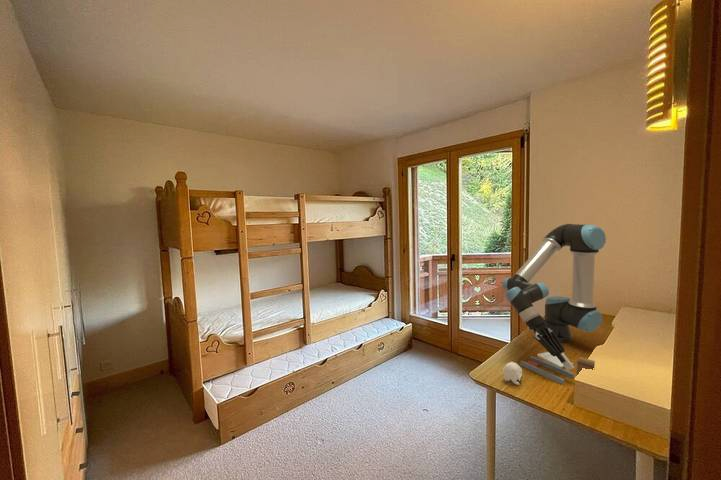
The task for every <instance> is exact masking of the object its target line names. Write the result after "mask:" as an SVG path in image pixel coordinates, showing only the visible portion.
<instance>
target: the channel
mask: <svg viewBox="0 0 721 480" xmlns="http://www.w3.org/2000/svg"><path fill="white" fill-rule="evenodd" d="M529 357H530V359H529V361H533V362H535V363H537V364H539V366H542V367H544V368H546V369H548V370H551V371H553V372H556V373H558V374H560V375H563V376H564V377H567V378H570V379H574V378H575V373H574V372H571V371H570V370H568V371H567V369H565V368H563V369H562V368H559V367H557V366H555V365H553V364H551V363H549V362H547V361H545V360H543V359H541V358H539V357H535V356H532V355H531V356H529ZM527 362H528V361H525V360H520V364H519V366H520V367H524V368H525V369H528V370H530V371H532V372H534V373H536V374H539V375H540V376H543V377H545V378H547V379H549V380H551V381H554V382H556V383H558V384H560V385H565V383H566V379H565V378H562V377H560V376H558V375H555V374H554V373H551V372H549V371H547V370H544V369H542V368H540V367H539V366H537V367H536V366H533V365H531V364H529V363H527Z"/></svg>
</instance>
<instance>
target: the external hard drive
mask: <svg viewBox="0 0 721 480" xmlns="http://www.w3.org/2000/svg"><path fill="white" fill-rule="evenodd" d="M536 356H537V358H539V359H541V360H543V361H545V362H547V363H550V364H552V365H555V366H557V367H559V368H562V369H566V368H565V367H564V365H563V364H562V363H561V362H560V360H559V359H558V358H557V356H555V357H554V356H552V355H551V354H550V353H549V352H548V351H547V352H541V353H537V355H536ZM571 363H572V365H573V366H574V367H575V363H573V362H571Z"/></svg>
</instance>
